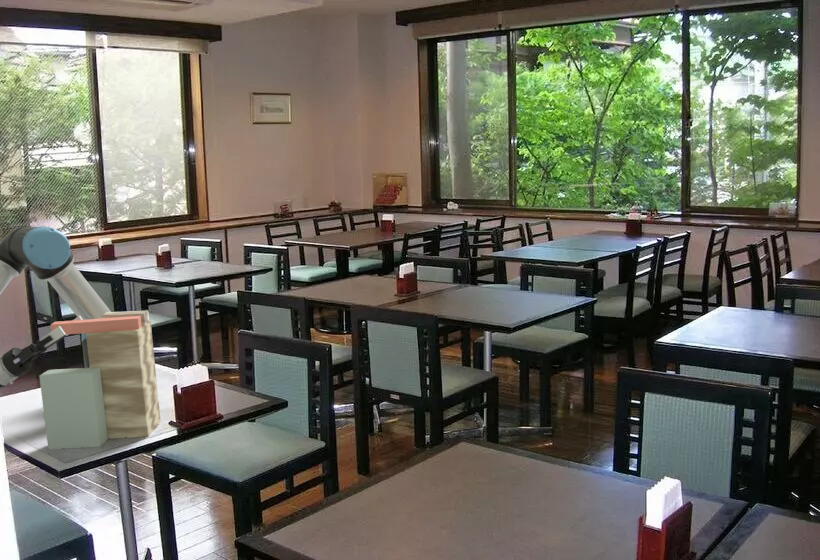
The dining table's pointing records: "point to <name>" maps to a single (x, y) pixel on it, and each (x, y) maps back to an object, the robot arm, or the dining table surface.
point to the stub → (99, 325)
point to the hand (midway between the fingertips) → (72, 324)
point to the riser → (73, 408)
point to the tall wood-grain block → (127, 377)
